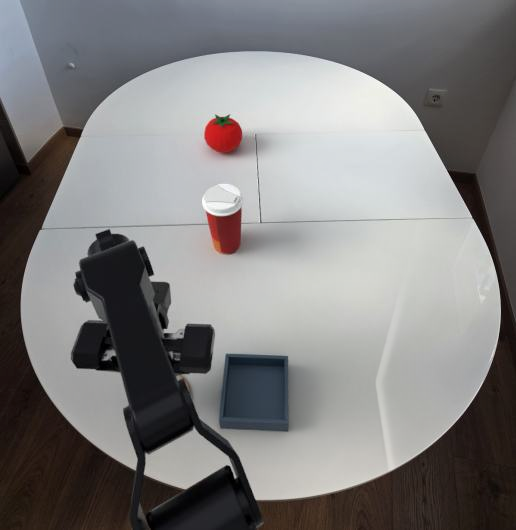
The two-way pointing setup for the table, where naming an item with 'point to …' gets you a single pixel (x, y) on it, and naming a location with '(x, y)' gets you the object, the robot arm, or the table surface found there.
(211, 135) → the tomato
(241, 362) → the crate
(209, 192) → the coffee cup
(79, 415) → the table surface
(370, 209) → the table surface
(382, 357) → the table surface
